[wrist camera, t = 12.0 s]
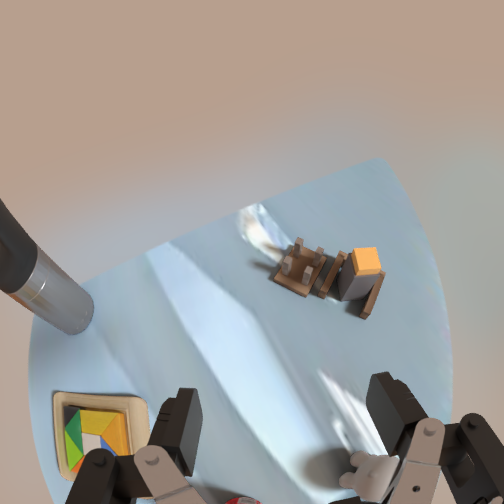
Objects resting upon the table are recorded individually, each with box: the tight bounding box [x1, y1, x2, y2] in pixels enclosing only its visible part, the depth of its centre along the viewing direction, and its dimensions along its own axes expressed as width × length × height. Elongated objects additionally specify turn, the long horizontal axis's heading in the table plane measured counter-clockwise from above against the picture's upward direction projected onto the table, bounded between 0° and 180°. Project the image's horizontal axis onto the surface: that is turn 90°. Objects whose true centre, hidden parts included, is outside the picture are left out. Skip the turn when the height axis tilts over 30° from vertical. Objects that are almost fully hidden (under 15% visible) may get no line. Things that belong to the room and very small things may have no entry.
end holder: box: [318, 251, 386, 320], centre depth 44 cm, size 9×8×2 cm
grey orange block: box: [337, 247, 381, 301], centre depth 40 cm, size 4×4×10 cm
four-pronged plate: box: [274, 237, 327, 297], centre depth 45 cm, size 6×8×5 cm
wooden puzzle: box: [53, 392, 154, 499], centre depth 30 cm, size 18×19×4 cm
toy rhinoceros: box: [339, 451, 399, 502], centre depth 24 cm, size 7×12×8 cm, turn 59°
